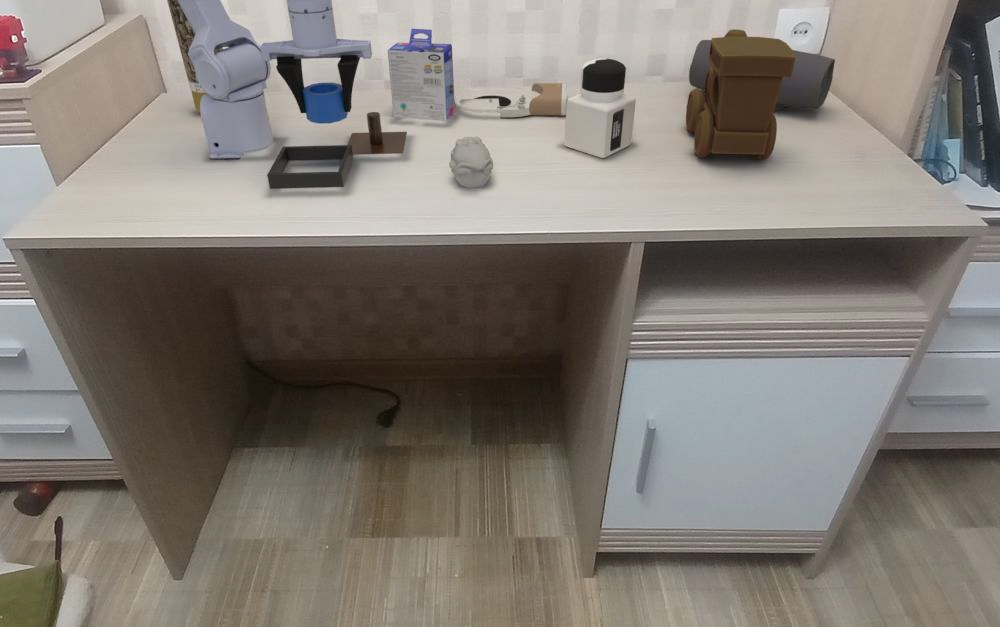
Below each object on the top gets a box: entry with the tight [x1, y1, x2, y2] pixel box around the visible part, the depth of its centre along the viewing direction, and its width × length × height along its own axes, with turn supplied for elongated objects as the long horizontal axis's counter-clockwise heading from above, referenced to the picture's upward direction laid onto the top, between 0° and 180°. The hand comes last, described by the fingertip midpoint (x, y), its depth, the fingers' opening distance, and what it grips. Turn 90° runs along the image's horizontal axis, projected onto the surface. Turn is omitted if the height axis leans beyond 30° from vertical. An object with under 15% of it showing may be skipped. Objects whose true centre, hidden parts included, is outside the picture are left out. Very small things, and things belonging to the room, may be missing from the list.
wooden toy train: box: [685, 29, 796, 160], centre depth 106 cm, size 20×11×17 cm, turn 175°
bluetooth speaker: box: [688, 39, 836, 111], centre depth 124 cm, size 23×9×10 cm, turn 55°
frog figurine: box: [448, 136, 494, 189], centre depth 98 cm, size 6×7×7 cm
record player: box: [454, 82, 567, 118], centre depth 126 cm, size 12×3×20 cm
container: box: [564, 58, 637, 159], centre depth 108 cm, size 8×8×13 cm
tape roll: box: [302, 82, 349, 125], centre depth 99 cm, size 6×6×4 cm
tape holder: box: [347, 111, 408, 156], centre depth 110 cm, size 9×9×6 cm
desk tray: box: [266, 144, 354, 190], centre depth 102 cm, size 10×10×3 cm
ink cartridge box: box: [387, 28, 456, 121], centre depth 118 cm, size 10×6×14 cm, turn 78°
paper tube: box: [166, 0, 224, 114], centre depth 120 cm, size 7×7×25 cm
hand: (326, 110), depth 100 cm, fingers closed on tape roll, 5 cm apart
